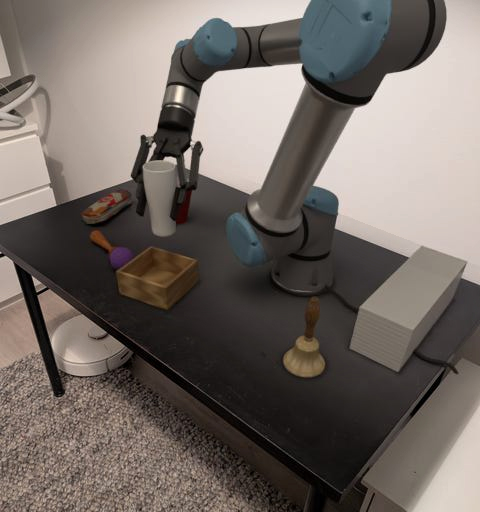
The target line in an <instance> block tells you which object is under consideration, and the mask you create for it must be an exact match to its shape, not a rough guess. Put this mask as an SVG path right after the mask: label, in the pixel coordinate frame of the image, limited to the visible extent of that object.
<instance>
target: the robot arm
mask: <svg viewBox="0 0 480 512" xmlns="http://www.w3.org/2000/svg"><path fill="white" fill-rule="evenodd" d="M447 12H448V11H447V6H446V1H445V0H310V1H309V3H308V5H307V6H306V8H305V10H304V13H303V15H302V17H299V18H294V19H289V20H282V21H277V22H272V23H267V24H261V25H251V26H232V25H231V23H229V22H228V21H225V20H224V19H223V18H220V17H212V18H210V19H208V20H207V21H206V22H205V23H204V24H202V26H200V27H199V28H198V29H197V30H196V31H195V33H194V35H192V37H191V38H185V39H184V40H183V39H182V40H179V41H178V42H176V44H175V46H174V48H173V49H174V50H173V53H172V54H171V58H170V59H171V60H170V65H169V71H168V75H167V80H166V84H165V89H164V94H163V98H162V101H161V110H160V111H159V117H158V121H157V126H156V130H155V133H153V135H150V136H146V134H141V135H140V138H139V140H140V146H139V148H138V151H137V155H136V157H135V160H134V164H133V167H132V170H131V173H130V177H131V179H132V180H133V181H134V182H135V183H137V186H136V191H135V198H136V199H137V204H136V209H135V213H136V214H137V215H138V216H139V217H141V218H142V217H143V218H144V217H145V212H146V207H147V198H146V193H145V187H144V180H143V165H144V164H145V163H147V162H150V161H156V160H163V161H165V158H174V159H175V160H176V169H177V174H178V175H177V176H179V182H180V184H179V185H180V187H176V189H175V193H174V198H173V203H172V208H171V212H170V218H171V219H172V220H173V221H176V222H177V217H178V213H179V208H180V205H181V206H184V204H185V200H186V195H187V192H188V191H189V190H192V191H196V190H197V189H198V182H199V174H200V173H199V172H200V162H201V161H200V160H201V157H202V154H203V152H204V150H205V149H204V146H203V143H202V141H200V140H196V141H195V140H193V139H192V136H193V133H194V128H195V122H196V120H195V119H196V117H197V112H198V107H199V104H200V98H201V95H202V89H203V87H204V84H205V83H206V82H207V81H208V80H209V79H210V78H212V76H214V75H215V74H216V73H218V72H226V71H235V70H243V69H244V70H245V69H254V68H255V69H256V68H270V67H274V66H275V67H277V66H290V65H299V64H300V65H301V68H300V71H301V76H302V78H303V81H304V82H305V83H304V86H303V88H302V90H301V93H300V95H299V97H298V100H297V102H296V105H295V107H294V110H293V112H292V114H291V117H290V119H289V122H288V123H287V126H286V129H285V130H284V133H283V134H282V135H283V136H282V138H281V141H280V142H279V145H278V148H277V150H276V152H275V155H274V157H273V159H272V161H271V164H270V166H269V169H268V171H267V173H266V175H265V177H264V180H263V183H262V185H261V188H258V189H256V190H255V191H253V192H252V193H251V194H250V195H249V196H248V198H247V201H246V203H245V206H244V207H243V208H244V209H243V210H241V212H234V213H233V214H231V215H230V216H229V217H228V218H227V221H226V224H225V225H226V226H225V232H226V237H227V241H228V245H229V247H230V249H231V251H232V252H233V254H234V256H235V257H236V259H237V260H238V261H239V262H240V263H241V264H242V265H244V266H246V267H249V268H256V267H258V266H264V265H266V264H269V263H270V262H273V261H274V263H273V265H272V268H271V274H270V278H271V281H272V284H273V285H274V286H275V287H277V288H278V289H279V291H280V290H281V291H282V292H284V293H287V294H288V295H289V294H290V295H292V296H297V297H313V296H315V297H317V296H319V295H322V294H325V293H327V292H328V291H329V292H330V293H331V294H332V295H333V296H334V297H336V298H337V299H339V301H341V302H342V303H343V304H344V305H345V306H346V307H347V308H349V309H351V310H352V311H354V312H356V313H358V312H359V308H356V307H355V306H353V305H352V304H350V303H349V302H348V301H347V300H346V299H345V298H344V297H342V296H341V294H339V293H338V292H336V291H335V290H334V289H333V288H332V286H333V281H334V270H333V265H332V260H331V251H332V246H333V241H334V235H335V231H336V225H337V219H338V216H339V205H340V201H339V198H338V196H337V195H336V194H335V193H334V192H332V191H330V190H329V189H327V188H325V187H324V188H323V187H321V186H317V185H315V183H316V181H317V179H318V178H319V176H320V174H321V172H322V169H323V168H324V166H325V165H326V163H327V161H328V159H329V157H330V155H331V154H332V152H333V150H334V148H335V146H336V144H337V143H338V141H339V139H340V137H341V136H342V134H343V132H344V130H345V128H346V126H347V124H348V122H349V121H350V119H351V118H352V115H353V113H354V111H355V110H356V109H357V108H361V107H364V106H367V105H368V104H369V103H370V102H371V101H372V99H374V96H375V94H376V92H377V91H378V89H379V87H380V86H381V84H382V82H383V80H384V79H385V77H386V76H387V75H389V74H395V73H401V72H405V71H409V70H412V69H415V68H417V67H418V66H420V65H422V63H424V62H426V60H427V59H429V58H430V57H431V56H432V55H433V54H434V53H435V51H436V49H437V48H438V47H439V45H440V43H441V41H442V40H443V37H444V33H445V31H446V27H447V19H448V18H447V17H448V16H447V15H448V14H447ZM153 144H155V147H154V148H153V152H152V154H151V157H150V158H149V155H150V149H152V147H153ZM189 149H190V151H191V157H190V166H189V177H187V170H186V165H185V164H186V163H185V161H186V159H185V155H184V154H185V153H186V152H187V151H188V150H189ZM148 158H149V160H148ZM147 160H148V161H147ZM187 178H189V182H187ZM413 354H415V355H416V356H417V357H419V358H420V359H422V360H424V361H425V362H429V363H434V364H439V365H444V366H446V367H448V368H449V369H450V370H451V371H452V372H453V374H455V375H459V372H458V370H457V368H456V367H455V366H454V365H453V364H452V363H450V362H448V361H445V360H442V359H436V358H431V357H428V356H426V355H424V354H422V353H421V352H420V351H419V350H417V348H415V349H414V351H413Z"/></svg>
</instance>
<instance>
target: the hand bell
mask: <svg viewBox="0 0 480 512" xmlns="http://www.w3.org/2000/svg"><path fill="white" fill-rule="evenodd" d="M320 315H321V305H320V301H319V297H318V296H311V297H310V300H309V302H308V303H307V305H306V307H305V311H304V321H305V330H304V333H303V334H304V335H301V336H299V337H298V338H297V339H296V340H295V343H294V345H293V347H292V348H290V349H289V350H288V351H286V352H285V353H284V355H283V358H282V364H283V366H284V368H285V369H286V370H287V371H288V372H289V373H290V374H292V375H294V376H296V377H300V378H305V379H307V378H308V379H309V378H314V377H317V376H319V375H321V374H322V373H323V372H324V370H325V368H326V361H325V359H324V357H323V355H322V354H321V353H320V343H319V341H318V339H316V338H315V337H314V333H315V327H316V325H317V323H318V321H319V319H320Z"/></svg>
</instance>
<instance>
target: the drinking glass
mask: <svg viewBox="0 0 480 512" xmlns="http://www.w3.org/2000/svg"><path fill="white" fill-rule="evenodd" d="M176 176H177V165H176V164H175V163H173V162H172V161H169V160H156V161H150V162H148V161H146V163H145V164H144V165H143V180H144V187H145V193H146V198H147V203H146V205H147V208H148V214H149V218H150V220H149V221H150V225H151V232H152V234H153V235H155V236H157V237H160V238H168V237H170V236H173V235H174V234H175V233H176V231H177V224H176V221H173V220H172V219H171V218H170V212H171V208H172V203H173V198H174V193H175V189H176V187H177V177H176Z"/></svg>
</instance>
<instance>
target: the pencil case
mask: <svg viewBox="0 0 480 512" xmlns="http://www.w3.org/2000/svg"><path fill="white" fill-rule="evenodd" d="M132 195H133V193H132V192H131V191H130V190H128V189H125V188H124V189H123V188H122V189H121V188H120V189H117V190H116V191H113V192H111V193H109V194H107V195H106V196H104V197H102V198H100V199H99V200H97V201H96V202H94V203H93V204H92V205H90V206H88V207H87V208H85V209H84V210H83V211H82V212H81V213H80V214H81V217H82V220H83V221H84V222H85V223H86V224H87V225H95V224H100V223H103V222H106V221H107V220H108V219H110V218H111V217H113V216H115V215H116V214H117V213H119V212H120V211H122V210H124V208H126V207H128V206H129V205H131V204H132V201H133V200H132V199H131V198H132Z"/></svg>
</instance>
